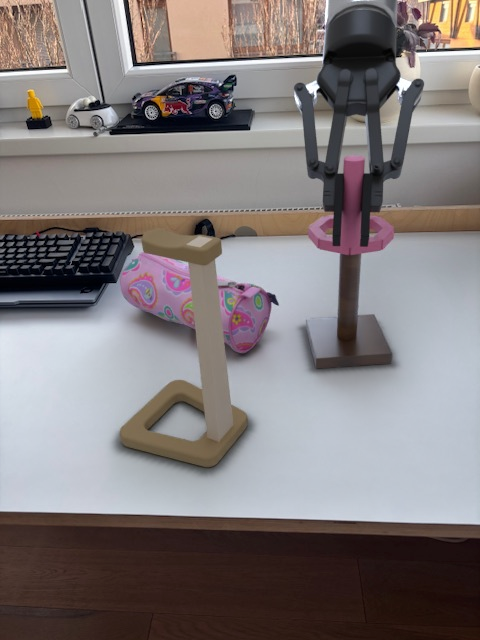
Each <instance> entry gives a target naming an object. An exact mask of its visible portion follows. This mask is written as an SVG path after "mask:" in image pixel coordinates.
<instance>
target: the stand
mask: <svg viewBox="0 0 480 640" xmlns="http://www.w3.org/2000/svg"><path fill="white" fill-rule="evenodd" d="M361 265H362V254H355V255H350V254H349V255H345V254H340V253H339V264H338V291H337V292H338V293H337V294H338V296H337V316H328V317H327V316H326V317H313V318H312V317H311V318H306V319H305V330H306V334H307V338H308V343H309V347H310V350H311V354H312V359H313V363H314V367H315V369H331V368H345V367H358V366H359V367H361V366H374V365H387V364H388V365H389V364H392V360H393V352H392V350H391V347H390V345H389V343H388V341H387V339H386V337H385V335H384V332H383V330H382V328H381V326H380V324H379V321H378V319H377V316H376V315H375V313H370V314H369V313H368V314H359V301H360V285H361V284H360V283H361V268H362V267H361Z"/></svg>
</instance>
